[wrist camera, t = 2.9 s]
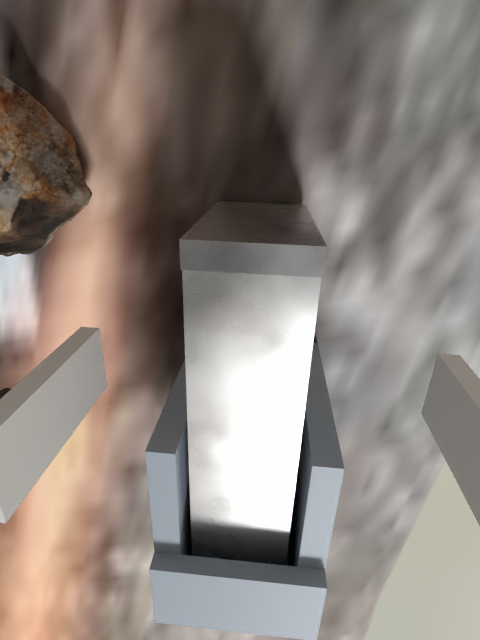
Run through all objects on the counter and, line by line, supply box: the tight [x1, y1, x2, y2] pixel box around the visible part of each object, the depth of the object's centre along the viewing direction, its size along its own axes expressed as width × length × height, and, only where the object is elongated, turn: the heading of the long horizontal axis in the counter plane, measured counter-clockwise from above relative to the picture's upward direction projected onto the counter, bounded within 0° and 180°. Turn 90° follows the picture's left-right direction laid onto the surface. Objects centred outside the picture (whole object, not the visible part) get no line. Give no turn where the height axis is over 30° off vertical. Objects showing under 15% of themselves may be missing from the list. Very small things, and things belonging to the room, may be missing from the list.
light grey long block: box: [179, 201, 327, 565], centre depth 20 cm, size 5×18×9 cm, turn 178°
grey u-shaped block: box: [145, 343, 344, 640], centre depth 21 cm, size 8×11×11 cm
